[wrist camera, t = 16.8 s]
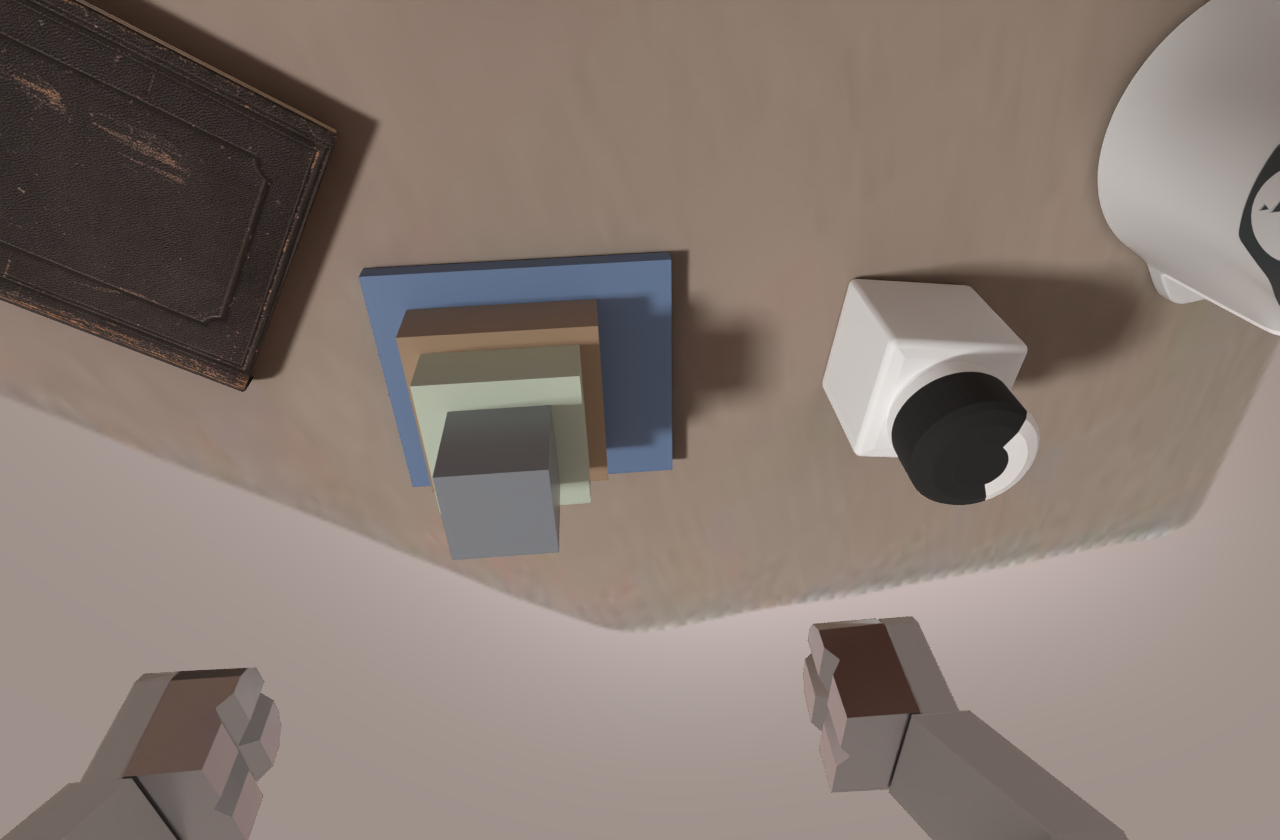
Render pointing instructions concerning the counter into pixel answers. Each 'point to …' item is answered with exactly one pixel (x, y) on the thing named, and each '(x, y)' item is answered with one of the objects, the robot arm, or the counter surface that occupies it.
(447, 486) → the slate block
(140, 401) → the counter surface
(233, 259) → the hardcover book
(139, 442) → the counter surface
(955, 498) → the medicine bottle
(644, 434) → the tower
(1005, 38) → the counter surface
